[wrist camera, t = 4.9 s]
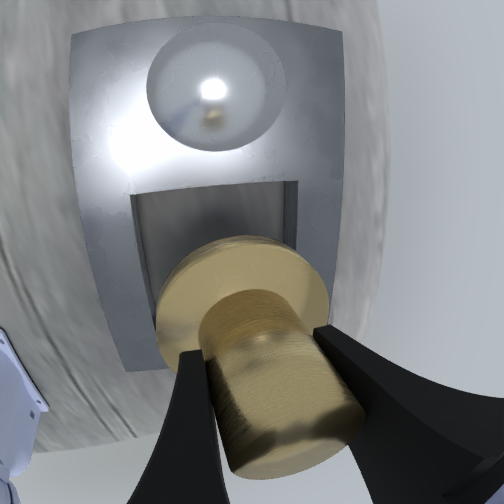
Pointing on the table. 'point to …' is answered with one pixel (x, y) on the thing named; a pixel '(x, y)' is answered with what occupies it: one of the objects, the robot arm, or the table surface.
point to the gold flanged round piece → (259, 353)
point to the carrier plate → (167, 166)
